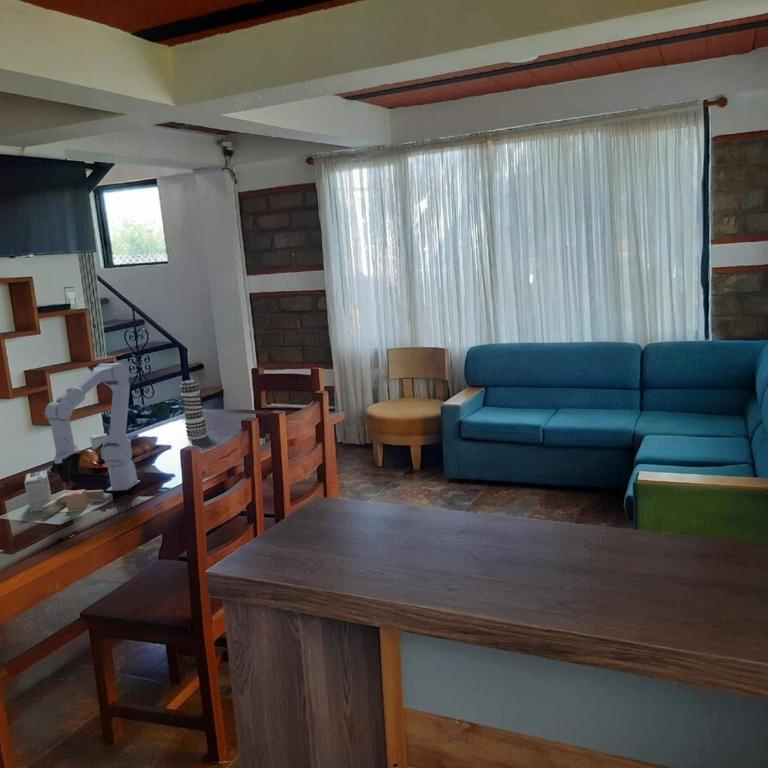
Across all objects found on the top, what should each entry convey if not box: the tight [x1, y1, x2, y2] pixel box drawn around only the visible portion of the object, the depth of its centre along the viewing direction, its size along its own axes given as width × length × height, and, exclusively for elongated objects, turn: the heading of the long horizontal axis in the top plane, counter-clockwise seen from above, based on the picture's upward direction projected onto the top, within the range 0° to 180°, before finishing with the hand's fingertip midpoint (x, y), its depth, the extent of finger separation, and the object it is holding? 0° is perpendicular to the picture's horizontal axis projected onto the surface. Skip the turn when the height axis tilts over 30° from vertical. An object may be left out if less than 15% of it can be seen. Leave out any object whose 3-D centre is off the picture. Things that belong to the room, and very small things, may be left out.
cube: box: [65, 489, 89, 510], centre depth 246 cm, size 5×5×5 cm
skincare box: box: [89, 433, 109, 449], centre depth 296 cm, size 6×4×12 cm
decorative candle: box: [179, 379, 208, 440], centre depth 325 cm, size 9×9×25 cm
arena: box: [41, 489, 106, 518], centre depth 245 cm, size 15×13×4 cm
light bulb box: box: [24, 470, 53, 513], centre depth 251 cm, size 11×7×11 cm, turn 22°
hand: (71, 478), depth 245 cm, fingers open, 7 cm apart
